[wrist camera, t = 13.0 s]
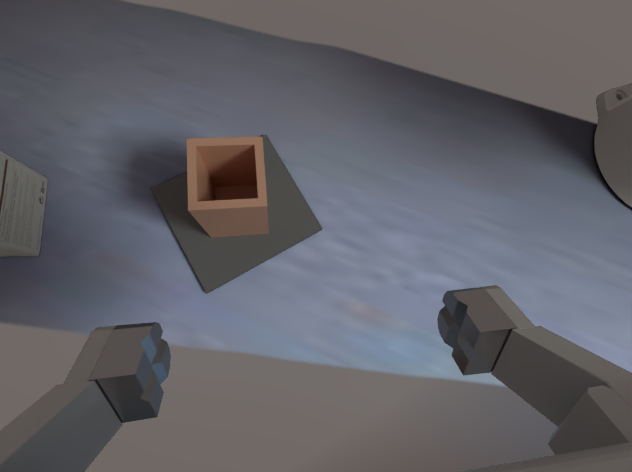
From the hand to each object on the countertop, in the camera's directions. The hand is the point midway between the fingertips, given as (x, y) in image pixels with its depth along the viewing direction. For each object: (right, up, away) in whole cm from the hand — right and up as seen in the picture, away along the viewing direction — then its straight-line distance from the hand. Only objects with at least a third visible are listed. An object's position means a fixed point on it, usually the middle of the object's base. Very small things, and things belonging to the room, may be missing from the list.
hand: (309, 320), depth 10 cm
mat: (-7, +5, +22) cm, 24 cm away
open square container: (-7, +5, +21) cm, 23 cm away
